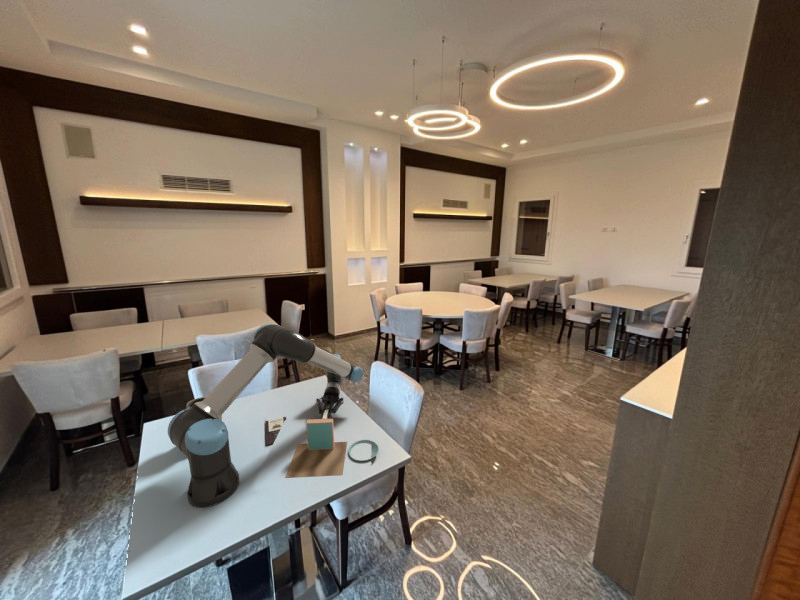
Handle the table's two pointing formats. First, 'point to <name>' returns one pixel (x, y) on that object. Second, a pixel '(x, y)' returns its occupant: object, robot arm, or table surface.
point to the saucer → (373, 448)
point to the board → (317, 461)
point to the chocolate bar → (273, 429)
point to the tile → (320, 434)
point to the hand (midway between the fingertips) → (324, 421)
